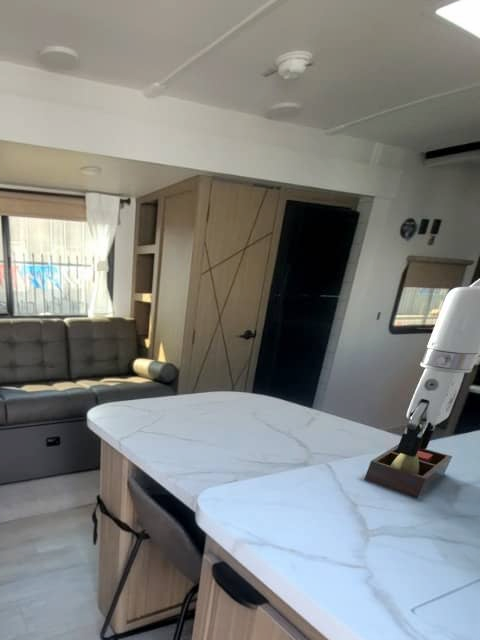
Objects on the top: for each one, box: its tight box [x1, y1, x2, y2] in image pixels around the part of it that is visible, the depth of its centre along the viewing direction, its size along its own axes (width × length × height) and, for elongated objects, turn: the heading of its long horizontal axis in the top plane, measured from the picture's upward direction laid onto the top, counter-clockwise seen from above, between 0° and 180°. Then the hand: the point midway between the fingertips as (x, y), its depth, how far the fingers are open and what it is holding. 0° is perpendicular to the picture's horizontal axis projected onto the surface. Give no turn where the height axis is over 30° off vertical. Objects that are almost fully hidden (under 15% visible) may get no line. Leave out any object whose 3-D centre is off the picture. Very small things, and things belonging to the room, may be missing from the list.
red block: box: [417, 451, 433, 463], centre depth 89 cm, size 4×4×4 cm
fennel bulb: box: [391, 425, 422, 475], centre depth 82 cm, size 6×5×12 cm
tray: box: [363, 443, 453, 500], centre depth 87 cm, size 18×10×4 cm, turn 129°
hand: (411, 449), depth 82 cm, fingers closed on fennel bulb, 5 cm apart
